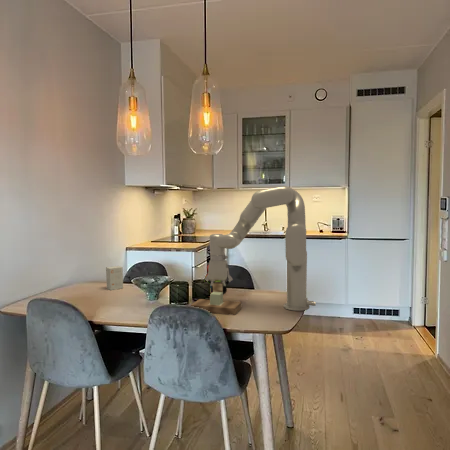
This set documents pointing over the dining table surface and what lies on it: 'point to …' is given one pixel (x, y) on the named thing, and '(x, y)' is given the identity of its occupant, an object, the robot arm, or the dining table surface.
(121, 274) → the small box
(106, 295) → the dining table surface
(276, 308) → the dining table surface
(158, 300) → the dining table surface
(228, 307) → the base board
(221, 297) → the sage cube
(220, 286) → the beech block
